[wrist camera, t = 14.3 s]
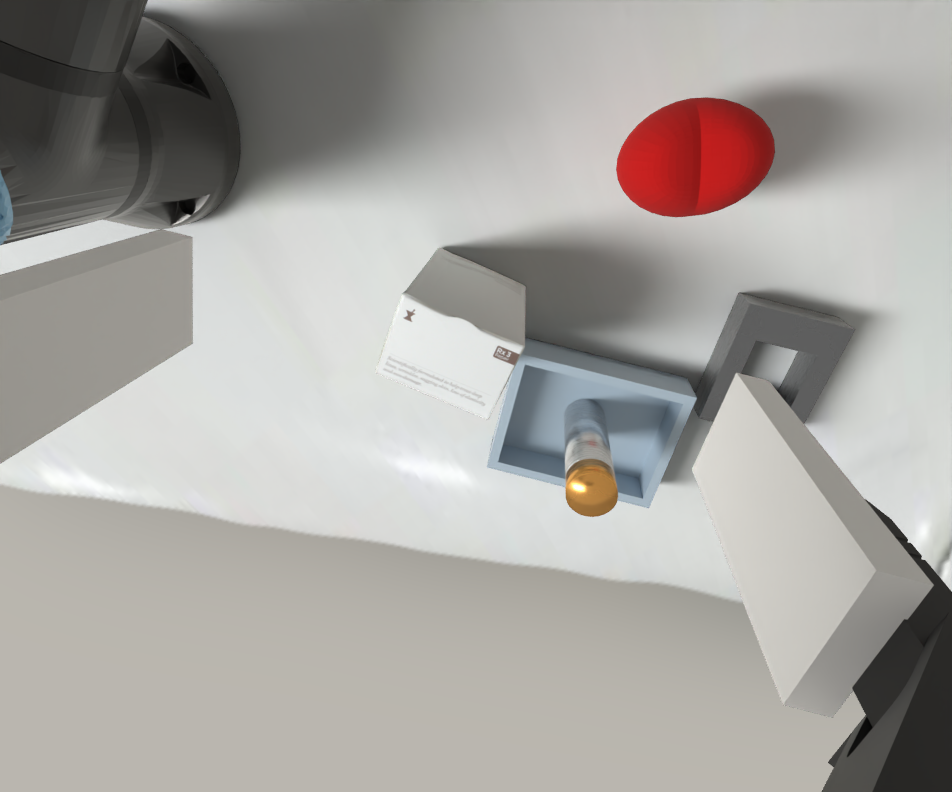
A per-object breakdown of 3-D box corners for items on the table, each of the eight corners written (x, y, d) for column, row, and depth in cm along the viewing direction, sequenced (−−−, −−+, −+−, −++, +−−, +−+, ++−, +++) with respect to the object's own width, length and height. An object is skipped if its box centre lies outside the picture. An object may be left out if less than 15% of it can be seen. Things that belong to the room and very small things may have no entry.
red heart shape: (609, 211, 45) (622, 234, 36) (606, 110, 42) (619, 108, 33) (737, 196, 44) (784, 216, 35) (743, 90, 41) (796, 83, 32)
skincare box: (415, 306, 50) (364, 375, 37) (440, 241, 48) (395, 289, 34) (504, 346, 51) (485, 428, 38) (534, 284, 48) (526, 348, 35)
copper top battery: (558, 429, 53) (559, 509, 42) (570, 394, 51) (574, 468, 40) (597, 439, 53) (608, 521, 42) (610, 404, 51) (625, 481, 40)
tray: (491, 444, 55) (487, 467, 52) (520, 336, 50) (517, 353, 47) (642, 482, 55) (648, 508, 51) (686, 377, 50) (696, 398, 46)
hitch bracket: (691, 402, 51) (699, 417, 48) (738, 292, 46) (750, 303, 44) (781, 424, 51) (794, 441, 48) (837, 316, 46) (855, 329, 44)
